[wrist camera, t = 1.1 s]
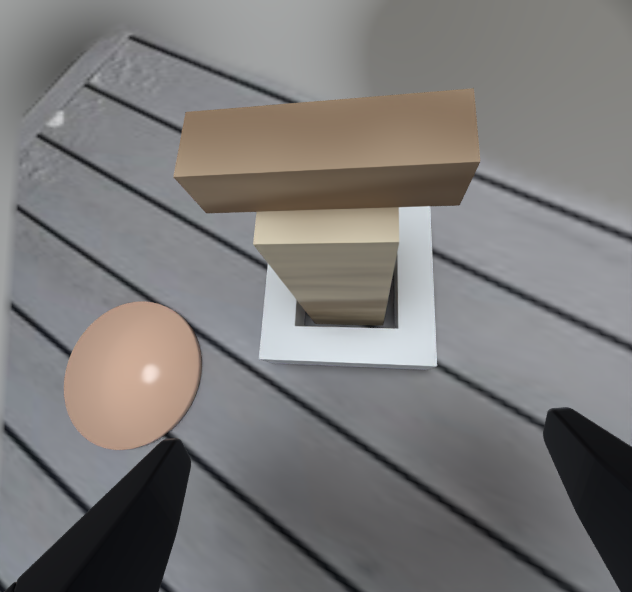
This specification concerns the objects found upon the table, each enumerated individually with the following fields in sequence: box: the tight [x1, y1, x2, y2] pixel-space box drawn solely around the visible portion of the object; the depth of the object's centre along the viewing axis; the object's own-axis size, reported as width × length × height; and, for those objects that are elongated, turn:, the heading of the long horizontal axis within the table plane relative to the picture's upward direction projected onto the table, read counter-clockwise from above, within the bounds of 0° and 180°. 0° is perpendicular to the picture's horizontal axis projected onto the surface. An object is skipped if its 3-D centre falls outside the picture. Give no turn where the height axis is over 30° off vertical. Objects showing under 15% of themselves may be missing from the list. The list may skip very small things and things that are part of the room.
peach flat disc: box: [64, 302, 202, 450], centre depth 24 cm, size 10×10×1 cm
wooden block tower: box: [174, 89, 480, 325], centre depth 16 cm, size 4×8×15 cm, turn 87°
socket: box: [259, 206, 437, 370], centre depth 22 cm, size 10×10×3 cm
